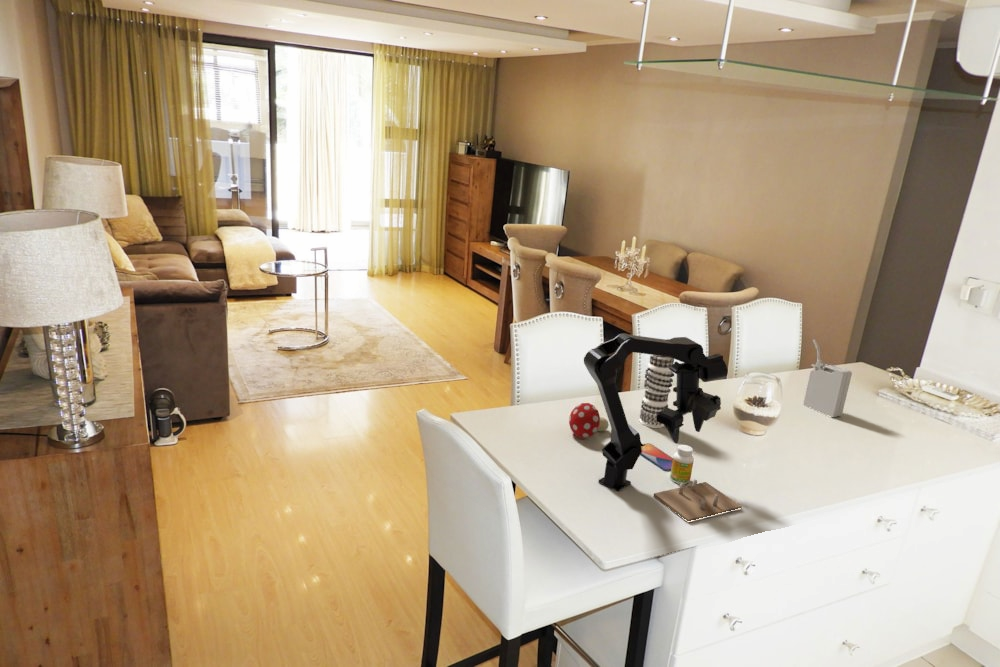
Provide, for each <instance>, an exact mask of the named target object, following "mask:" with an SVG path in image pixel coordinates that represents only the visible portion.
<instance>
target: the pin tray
mask: <svg viewBox="0 0 1000 667" xmlns="http://www.w3.org/2000/svg"><path fill="white" fill-rule="evenodd" d="M653 498H655V499H656V501H658V502H660V503H661V504H662V505H664V506H665V505H666V506H667V507H669V508H670V509H671V510H673V511H674V512H676V513H677V514H679V515H680V516H681V517H683V518H684V519H686V520H687V521H691V520H696V519H699V518H703V517H707V516H711V515H715V514H718V513H722V512H726V511H731V510H735V509H738V508H741V509H742V507H743V505H741V504H740V503H738V502H737V501H735V500H733V499H732V498H730V497H729V496H727V495H726V494H724V493H723V492H721V491H720V490H718V489H717V488H716V487H714V486H712V485H711V484H709V483H708V482H706V481H705V482H704V481H703V482H698V480H696V479H693V480H692V484H690V485H686V486H685V484H684V483H681V484H679V487H676V488H672V489H668V490H663V491H659V492H653ZM666 506H665V507H666ZM667 507H666V508H667ZM669 508H668V509H669ZM670 509H669V510H670ZM671 510H670V511H671ZM673 511H672V512H673ZM674 512H673V513H674ZM677 514H676V515H677ZM681 517H680V518H681Z"/></svg>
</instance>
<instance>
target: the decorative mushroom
mask: <svg viewBox="0 0 1000 667" xmlns="http://www.w3.org/2000/svg"><path fill="white" fill-rule="evenodd" d="M568 424H569V428H570V430H571V432H572V433H573V435H574V436H575V437H577V436H578V438H579V437H580V438H579V439H589V438H591V437H593V436H594V435H595V433H597V432H605V431H607V430H608V428H609V425H610V423H609V420H608V419H607V418H605V417H602V416H600V413H599V410H598V409H597V407H596V406H595V405H594V404H591V403H589V402H581V403H580V404H578V405H576V406H575V407H574V408H573V409H572V410H571V412H570V414H569V418H568Z"/></svg>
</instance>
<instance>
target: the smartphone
mask: <svg viewBox="0 0 1000 667" xmlns="http://www.w3.org/2000/svg"><path fill="white" fill-rule="evenodd" d="M642 444H643V446H641V448H642V453H641V454H640V456H641V457H642V458H644V459H645V460H647V461H648V462H650V463H651V464H653V465H654V466H656V467H657V468H659V469H661V470H662V471H663V472H669V471H670V472H671V468H672V462H673V457H671V455H668V453H666V452H664V450H663V451H662V450H661V449H660V448H658V447H657V446H655V445H653V444H652V443H649V442H648V443H642Z"/></svg>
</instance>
